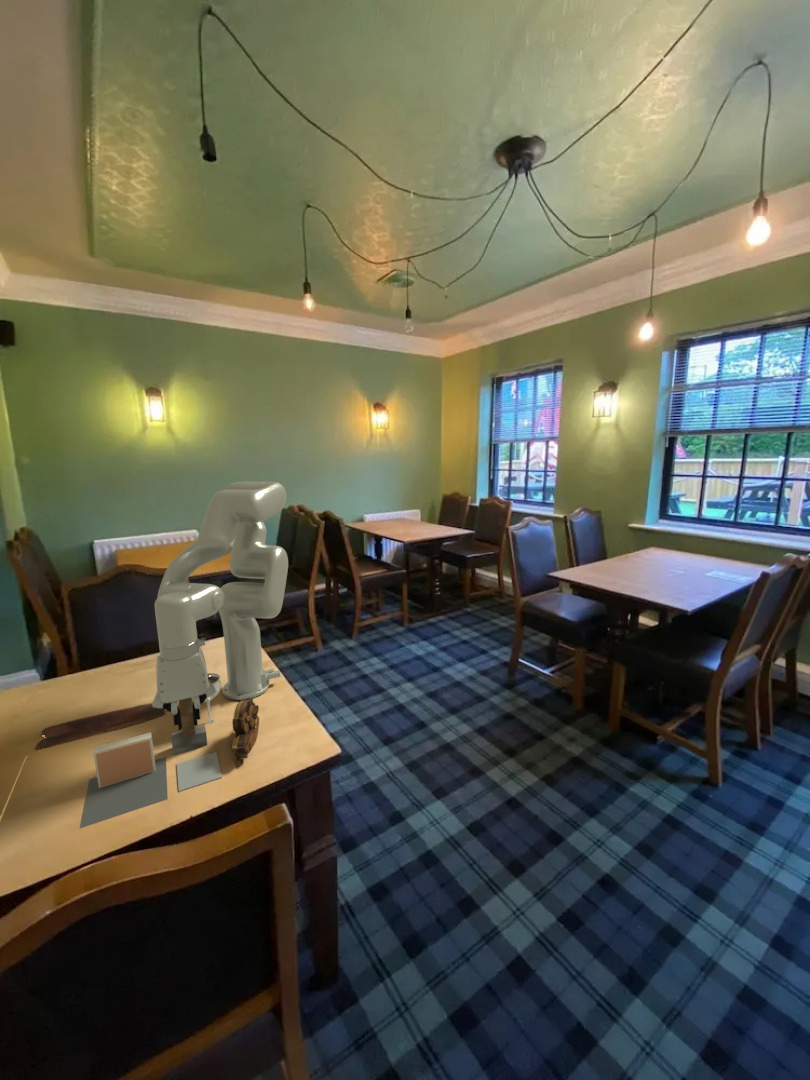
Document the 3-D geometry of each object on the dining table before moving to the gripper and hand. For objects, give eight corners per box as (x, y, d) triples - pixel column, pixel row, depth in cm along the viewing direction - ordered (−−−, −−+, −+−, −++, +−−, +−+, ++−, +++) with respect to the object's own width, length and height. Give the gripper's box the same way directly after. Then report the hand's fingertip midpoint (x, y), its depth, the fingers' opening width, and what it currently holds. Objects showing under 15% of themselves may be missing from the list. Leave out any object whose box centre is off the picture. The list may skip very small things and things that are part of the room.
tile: (155, 765, 96) (151, 732, 95) (155, 771, 94) (151, 738, 93) (100, 781, 92) (94, 747, 90) (98, 789, 90) (93, 753, 88)
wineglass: (196, 735, 108) (191, 689, 105) (194, 720, 113) (189, 676, 111) (226, 727, 111) (222, 682, 108) (223, 713, 117) (219, 670, 114)
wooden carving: (254, 766, 97) (251, 725, 95) (232, 769, 96) (228, 728, 94) (262, 722, 113) (259, 686, 111) (243, 724, 112) (240, 688, 110)
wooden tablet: (163, 696, 123) (165, 709, 115) (164, 703, 123) (166, 718, 115) (40, 727, 110) (32, 745, 101) (42, 736, 110) (34, 754, 101)
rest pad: (216, 755, 100) (216, 751, 100) (222, 780, 93) (221, 776, 93) (177, 767, 97) (176, 763, 97) (179, 794, 89) (178, 790, 89)
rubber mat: (166, 759, 99) (165, 756, 99) (167, 801, 87) (167, 798, 87) (89, 781, 93) (89, 779, 92) (80, 830, 81) (79, 828, 80)
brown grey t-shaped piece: (206, 740, 106) (200, 681, 103) (207, 747, 103) (201, 687, 100) (173, 749, 102) (165, 689, 99) (173, 757, 100) (166, 695, 97)
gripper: (216, 635, 105) (223, 706, 109) (137, 650, 97) (147, 726, 101) (221, 647, 99) (228, 722, 102) (136, 664, 91) (146, 745, 95)
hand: (187, 724), depth 102 cm, fingers closed on brown grey t-shaped piece, 2 cm apart
